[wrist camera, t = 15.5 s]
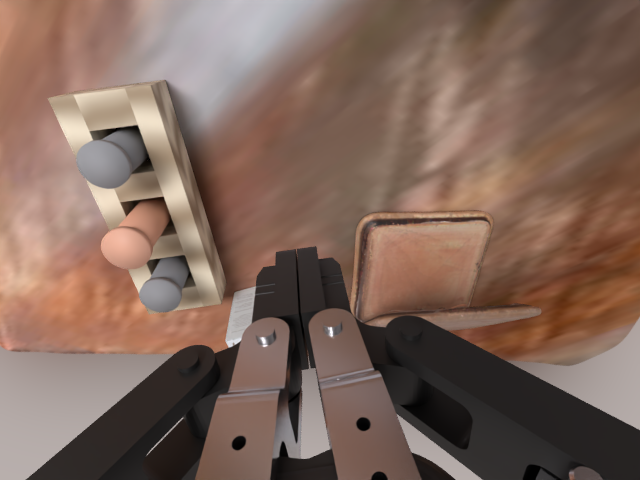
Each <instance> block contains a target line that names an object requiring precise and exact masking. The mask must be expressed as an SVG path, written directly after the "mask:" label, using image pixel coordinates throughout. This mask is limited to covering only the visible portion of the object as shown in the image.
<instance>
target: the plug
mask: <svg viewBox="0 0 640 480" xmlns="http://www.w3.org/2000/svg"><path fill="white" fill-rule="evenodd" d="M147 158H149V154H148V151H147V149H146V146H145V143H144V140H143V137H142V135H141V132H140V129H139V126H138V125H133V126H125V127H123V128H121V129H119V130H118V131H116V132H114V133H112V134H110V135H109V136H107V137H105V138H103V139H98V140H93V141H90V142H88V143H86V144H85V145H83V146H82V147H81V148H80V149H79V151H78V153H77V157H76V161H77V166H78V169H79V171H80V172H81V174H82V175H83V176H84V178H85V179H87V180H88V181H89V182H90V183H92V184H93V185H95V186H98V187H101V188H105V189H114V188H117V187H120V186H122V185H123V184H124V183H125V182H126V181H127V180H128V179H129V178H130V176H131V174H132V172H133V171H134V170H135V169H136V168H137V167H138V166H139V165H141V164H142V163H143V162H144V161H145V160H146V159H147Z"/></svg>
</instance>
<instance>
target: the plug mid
mask: <svg viewBox="0 0 640 480" xmlns="http://www.w3.org/2000/svg"><path fill="white" fill-rule="evenodd" d="M170 220H171V215H170V212H169V210H168V207H167V204H166V201H165V198H164V197H163V196H162V197H155V198H148V199H142V200H141V201H140V202H139V203H138V204H137V205H136V206H135V208H134V209H133V210H132V211H131V212H130V213H129V214H128V215H127V217H126V218H125V219H124V220H123V221H122V222H121V223H120V225H119V226H118V227H116V228H113V229H112V230H110V231H109V232H108V233H107V234H106V235H105V236H104V238H103V239H102V242H101V249H102V252H103V254H104V256H105V257H106V259H107V260H108V261H109V262H111V263H112V264H114V265H115V266H118V267H120V268H124V269H137V268H140V267H142V266H144V265H145V264H146V263H147V262H148V261H149V259H150V257H151V255H152V252H153V247H154V245H155V244H156V242H157V240H158V239H159V237H160V236H161V234H162V232H163V231H164V229H165V228H166V226H167V224H168V223H169V221H170Z"/></svg>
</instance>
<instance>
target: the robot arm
mask: <svg viewBox="0 0 640 480" xmlns="http://www.w3.org/2000/svg"><path fill="white" fill-rule="evenodd" d="M297 258H298V259H297ZM307 350H308V351H307ZM308 355H309V361H310V366H311V368H316V374H317V379H318V386H319V391H320V397H321V402H322V407H323V413H324V418H325V423H326V429H327V434H328V439H329V445H330V450H328V451H325V452H323V453H321V454H319V455H316V456H314V457H312V458H309V459H301V448H300V447H301V421H302V388H301V386H302V371H301V370H304V369H309V365H308ZM396 413H397V414H398V415H399V416H401V417H402V418H403V419H404V420H406V421H407V422H408V423H410V424H411V425H412V426H414V427H415V428H416V429H417V430H419V431H420V432H421V433H423V434H424V435H425V436H427V437H428V438H429V439H430V440H432V441H433V442H434V443H436V444H437V445H438V446H440V447H441V448H442V449H444V450H445V451H446V452H447V453H449V454H450V455H451V456H453V457H454V458H455V459H457V460H458V461H459V462H460V463H462V464H463V465H465V466H466V467H467V468H468V469H470V470H471V471H472V472H473V473H475V474H476V475H478V476H479V477H480V478H481V479H483V480H640V430H638V429H636V428H634V427H633V426H631V425H629V424H626V423H625V422H623V421H621V420H619V419H617V418H615V417H613V416H611V415H609V414H607V413H605V412H603V411H602V410H600V409H597V408H596V407H594V406H592V405H590V404H588V403H586V402H584V401H582V400H580V399H578V398H576V397H574V396H572V395H570V394H569V393H566V392H565V391H563V390H561V389H559V388H557V387H555V386H553V385H551V384H549V383H547V382H545V381H543V380H541V379H539V378H538V377H536V376H534V375H532V374H530V373H528V372H526V371H524V370H522V369H520V368H518V367H516V366H514V365H513V364H511V363H509V362H507V361H505V360H503V359H501V358H499V357H497V356H495V355H493V354H491V353H489V352H487V351H485V350H483V349H482V348H480V347H478V346H476V345H474V344H472V343H470V342H468V341H466V340H464V339H462V338H460V337H458V336H456V335H454V334H452V333H451V332H449V331H447V330H445V329H443V328H441V327H439V326H437V325H435V324H433V323H431V322H429V321H427V320H425V319H423V318H421V317H418V316H412V315H405V316H399V317H396V318H394V319H393V320H391V321H390V322H389V323H388V324H387V326H386V327H377V326H371V325H367V324H364V323H362V322H360V321H359V320H357V319H356V318H355V317H354V316H353V314H352V312H351V309H350V305H349V300H348V296H347V292H346V288H345V284H344V280H343V276H342V272H341V268H340V264H338V263H337V262H336V261H335V260H334V259H333V258H325V259H318V255H317V248H316V246H315V247H308V248H301V249H297V254H296V249H294V250H287V251H280V252H276V264H275V266H269V267H263V269H262V270H261V272H260V273H259V274H258V276H257V280H256V289H255V298H254V307H253V315H252V324H251V325H249V326H248V327H247V328H246V329H245V331H244V333H243V335H242V339H241V341H240V342H239V343H237V344H236V345H234V346H232V347H230V348H227V349H225V350H222V351H220V352H217V353H215V354H214V352H213V350H212V349H211V348H209V347H207V346H204V345H193V346H189V347H186V348H184V349H182V350H180V351H178V352H177V353H176V354H174V355H173V356H172V357H171V358H169V359H168V360H167V361H166V362H165V363H163V364H162V365H161V366H160V367H159V368H158V369H156V370H155V371H154V372H153V373H152V374H150V375H149V376H148V377H147V378H146V379H145V380H143V381H142V382H141V383H140V384H139V385H137V386H136V387H135V388H134V389H133V390H132V391H130V392H129V393H128V394H127V395H126V396H124V397H123V398H122V399H121V400H120V401H119V402H117V403H116V404H115V405H114V406H113V407H111V408H110V409H109V410H108V411H107V412H106V413H104V414H103V415H102V416H101V417H100V418H98V419H97V420H96V421H95V422H94V423H92V424H91V425H90V426H89V427H88V428H87V429H85V430H84V431H83V432H82V433H81V434H79V435H78V436H77V437H76V438H75V439H74V440H72V441H71V442H70V443H69V444H68V445H66V446H65V447H64V448H63V449H62V450H61V451H59V452H58V453H57V454H56V455H55V456H54V457H52V458H51V459H50V460H49V461H48V462H46V463H45V464H44V465H43V466H42V467H41V468H40V469H38V470H37V471H36V472H35V473H33V474H32V475H31V476H30V477H29V478H27V479H26V480H455V479H454V478H453V477H452V476H451V475H449V474H448V473H447V472H446V471H444V470H443V469H442V468H440V467H439V466H438V465H436V464H435V463H433V462H432V461H430V460H427V459H426V458H424V457H422V456H420V455H417V454H414V453H412V452H411V451H410V448H409V446H408V443H407V441H406V438H405V435H404V433H403V430H402V427H401V425H400V422H399V420H398V417H397V414H396ZM182 417H183V419H182V421H180V422H179V423H178V425H177V426H176V427H175V428H174V429H173V430H172V431H171V432H170V433H169V434H168V435H167V436H166V437H165V438H164V439H163V440H162V441H161V442H160V443H159V444H158V445H157V446H156V447H155V448H154V449H153V450H152V451H151V452H150V453H149V454H148V452H149V451H150V450H151V448H153V447H154V446H155V445H156V443H157V442H159V440H160V439H161V438H162V437H163V436H164V435H165V434H166V433H167V432H168V431H169V430H170V429H171V428H172V427H173V426H174V425H175V424H176V423H177V422H178V421H179V420H180V419H181V418H182ZM147 454H148V455H147ZM146 455H147V456H146Z"/></svg>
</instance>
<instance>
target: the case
mask: <svg viewBox="0 0 640 480" xmlns="http://www.w3.org/2000/svg"><path fill="white" fill-rule="evenodd" d="M492 229H493V219H492V217H491V216H490V215H489V214H488V213H486V212H484V211H476V210H474V211H448V212H375V213H371V214H368V215H366V216H365V217H363V218H362V219H361V221H360V222H359V224H358V226H357V230H356V241H355V256H354V272H353V283H352V292H351V302H350V309H351V312H352V314H353V316H354V317H355V318H356V319H357V320H359V321H360V322H362V323H364V324H367V325H371V326H377V327H386V326H387V324H388V323H389V322H390V321H391V320H393V319H394V318H396V317H399V316H405V315H412V316H418V317H421V318H423V319H425V320H427V321H429V322H431V323H433V324H435V325H437V326H439V327H441V328H443V329H445V330H462V329H470V328H476V327H482V326H487V325H492V324H498V323H503V322H508V321H514V320H519V319H524V318H528V317H533V316H537V315H539V314H541V309H540V308H539V307H533V306H531V305H524V304H517V303H514V304H511V305H502V306H487V307H469V306H470V303H471V299H472V296H473V292H474V289H475V286H476V282H477V279H478V275H479V272H480V268H481V265H482V262H483V258H484V255H485V252H486V248H487V245H488V242H489V238H490V235H491V232H492Z"/></svg>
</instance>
